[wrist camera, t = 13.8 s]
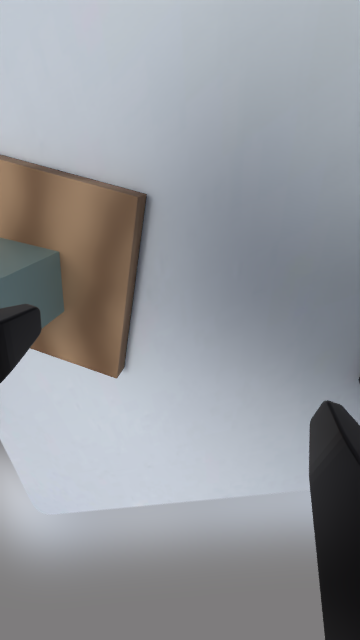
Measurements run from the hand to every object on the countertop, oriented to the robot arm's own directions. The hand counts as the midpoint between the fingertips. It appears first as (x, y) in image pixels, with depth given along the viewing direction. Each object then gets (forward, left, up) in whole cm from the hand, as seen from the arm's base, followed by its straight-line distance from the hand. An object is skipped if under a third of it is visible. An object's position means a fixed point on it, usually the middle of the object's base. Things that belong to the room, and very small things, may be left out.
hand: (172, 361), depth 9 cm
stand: (+14, +6, -13) cm, 20 cm away
